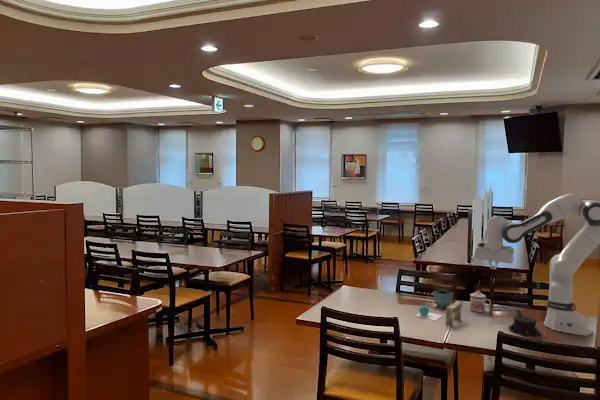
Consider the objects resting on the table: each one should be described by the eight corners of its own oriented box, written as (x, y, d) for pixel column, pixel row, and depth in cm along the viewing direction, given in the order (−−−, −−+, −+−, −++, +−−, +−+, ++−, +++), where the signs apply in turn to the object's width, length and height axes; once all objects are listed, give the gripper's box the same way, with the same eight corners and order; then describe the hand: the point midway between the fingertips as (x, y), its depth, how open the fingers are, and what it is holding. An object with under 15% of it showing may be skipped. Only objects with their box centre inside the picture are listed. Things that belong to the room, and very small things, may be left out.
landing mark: (443, 315, 265) (443, 315, 265) (435, 320, 255) (435, 320, 255) (423, 311, 272) (423, 311, 272) (414, 316, 263) (414, 315, 263)
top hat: (544, 332, 242) (545, 313, 241) (534, 339, 231) (535, 318, 231) (515, 325, 252) (516, 306, 252) (503, 331, 242) (504, 311, 241)
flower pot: (431, 305, 286) (432, 291, 285) (442, 303, 290) (443, 289, 289) (442, 309, 278) (443, 294, 277) (453, 307, 282) (453, 293, 281)
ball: (425, 316, 267) (432, 310, 265) (421, 318, 263) (428, 312, 260) (419, 308, 270) (426, 302, 267) (415, 310, 265) (422, 304, 263)
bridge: (460, 319, 260) (461, 303, 259) (450, 325, 249) (451, 308, 248) (455, 317, 262) (456, 301, 261) (445, 324, 250) (446, 307, 250)
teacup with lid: (469, 311, 275) (470, 292, 274) (469, 307, 283) (470, 288, 283) (491, 313, 271) (492, 294, 270) (490, 309, 280) (491, 290, 279)
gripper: (515, 246, 255) (514, 270, 255) (477, 242, 267) (477, 265, 268) (512, 247, 250) (511, 272, 250) (474, 243, 263) (473, 267, 263)
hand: (493, 269), depth 259 cm, fingers closed
